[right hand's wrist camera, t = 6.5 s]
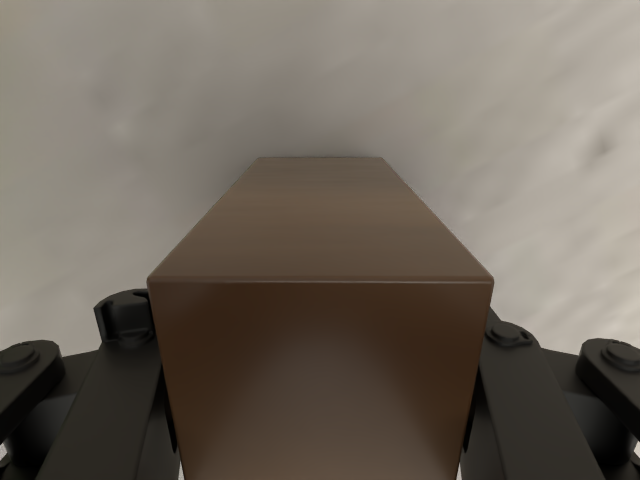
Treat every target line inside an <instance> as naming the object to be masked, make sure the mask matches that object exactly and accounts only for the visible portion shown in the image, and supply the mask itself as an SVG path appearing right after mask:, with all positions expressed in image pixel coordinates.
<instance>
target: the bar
mask: <svg viewBox="0 0 640 480" xmlns="http://www.w3.org/2000/svg"><path fill="white" fill-rule="evenodd" d="M493 287H494V279H493V276H492V275H491V274H490V273H489V272H488V271H487V270H486V269H485V268H484V267H483V266H482V265H481V264H480V262H479V261H478V260H477V259H476V258H475V257H474V256H473V255H472V254H471V253H470V252H469V251H468V250H467V248H466V247H465V246H464V245H463V244H462V243H461V242H460V241H459V240H458V239H457V238H456V237H455V236H454V235H453V233H452V232H451V231H450V230H449V229H448V228H447V227H446V226H445V225H444V224H443V223H442V222H441V221H440V220H439V218H438V217H437V216H436V215H435V214H434V213H433V212H432V211H431V210H430V209H429V208H428V207H427V206H426V204H425V203H424V202H423V201H422V200H421V199H420V198H419V197H418V196H417V195H416V194H415V193H414V192H413V191H412V189H411V188H410V187H409V186H408V185H407V184H406V183H405V182H404V181H403V180H402V179H401V178H400V177H399V175H398V174H397V173H396V172H395V171H394V170H393V169H392V168H391V167H390V166H389V165H388V164H387V163H386V162H385V160H384V159H383V158H258V159H257V160H256V161H255V162H254V163H253V164H252V165H251V166H250V167H249V168H248V169H247V171H246V172H245V173H244V174H243V175H242V176H241V177H240V178H239V179H238V180H237V181H236V182H235V183H234V185H233V186H232V187H231V188H230V189H229V190H228V191H227V192H226V193H225V194H224V195H223V196H222V197H221V199H220V200H219V201H218V202H217V203H216V204H215V205H214V206H213V207H212V208H211V209H210V210H209V211H208V213H207V214H206V215H205V216H204V217H203V218H202V219H201V220H200V221H199V222H198V223H197V224H196V225H195V227H194V228H193V229H192V230H191V231H190V232H189V233H188V234H187V235H186V236H185V237H184V238H183V239H182V241H181V242H180V243H179V244H178V245H177V246H176V247H175V248H174V249H173V250H172V251H171V252H170V254H169V255H168V256H167V257H166V258H165V259H164V260H163V261H162V262H161V263H160V264H159V265H158V266H157V268H156V269H155V270H154V271H153V272H152V273H151V274H150V275H149V276H148V278H147V288H148V293H149V299H150V304H151V309H152V314H153V319H154V325H155V330H156V335H157V340H158V345H159V350H160V356H161V361H162V366H163V371H164V376H165V381H166V387H167V392H168V397H169V402H170V407H171V413H172V418H173V423H174V428H175V433H176V438H177V444H178V449H179V454H180V459H181V464H182V470H183V475H184V480H456V478H457V473H458V468H459V463H460V457H461V452H462V447H463V442H464V437H465V432H466V426H467V421H468V416H469V411H470V406H471V401H472V395H473V390H474V385H475V380H476V375H477V369H478V364H479V359H480V354H481V349H482V344H483V338H484V333H485V328H486V323H487V318H488V313H489V307H490V302H491V297H492V292H493Z"/></svg>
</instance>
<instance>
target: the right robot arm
mask: <svg viewBox="0 0 640 480" xmlns="http://www.w3.org/2000/svg"><path fill="white" fill-rule="evenodd" d="M93 309H94V313H95V316H96V320H97V324H98V328H99V332H100V336H101V340H102V343H101V345H100V347H99V349H98V350H95V351H91V352H86V353H81V354H76V355H71V356H66V357H62V355H61V352H60V349H59V346H58V345H57V344H56V343H54V342H53V341H47V340H36V341H27V342H22V343H21V344H20V343H18V344H15V345H12V346H11V347H9V348H7V349H5V350H2V351H0V445H1V444H2V443H3V444H4V446H5V448H6V451H7V454H6V455H5V456H4V457H3V458H2V460H1V461H0V480H178V477H179V469H180V460H181V459H180V454H179V449H178V444H177V438H176V433H175V428H174V423H173V418H172V413H171V407H170V402H169V397H168V392H167V387H166V381H165V376H164V371H163V366H162V361H161V356H160V350H159V345H158V340H157V335H156V330H155V325H154V319H153V314H152V309H151V304H150V299H149V293H148V289H132V290H127V291H122V292H119V293H116V294H113V295H111V296H109V297H107V298H105V299H103V300H102V301H100V302H99V303H98V304H97V305H96V306H95V307H94V308H93ZM638 441H639V442H640V349H638V348H636V347H633V346H631V345H630V344H628V343H625V342H622V341H621V342H619V341H618V340H613V339H602V338H596V339H589V340H587V341H586V342H584V343H583V344H582V347H581V350H580V353H579V356H578V355H573V354H568V353H563V352H557V351H552V350H548V349H544V348H541V347H540V345H539V343H538V341H537V340H536V338H535V337H534V336H533V335H532V334H531V333H530V332H528V331H527V330H525V329H524V328H522V327H520V326H517V325H515V324H512V323H509V322H505V321H501V320H500V319H499V317H498V316H497V315H496V314H495V312H494V311H493V310H492V308H491V307H489V313H488V318H487V323H486V328H485V333H484V338H483V344H482V349H481V354H480V359H479V364H478V369H477V375H476V380H475V385H474V390H473V395H472V401H471V406H470V411H469V416H468V421H467V426H466V432H465V437H464V442H463V447H462V452H461V457H460V468H461V476H462V480H640V458H639V457H638V456H637V455H636V453H635V452H634V449H635V447H636V444H637V442H638Z"/></svg>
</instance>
